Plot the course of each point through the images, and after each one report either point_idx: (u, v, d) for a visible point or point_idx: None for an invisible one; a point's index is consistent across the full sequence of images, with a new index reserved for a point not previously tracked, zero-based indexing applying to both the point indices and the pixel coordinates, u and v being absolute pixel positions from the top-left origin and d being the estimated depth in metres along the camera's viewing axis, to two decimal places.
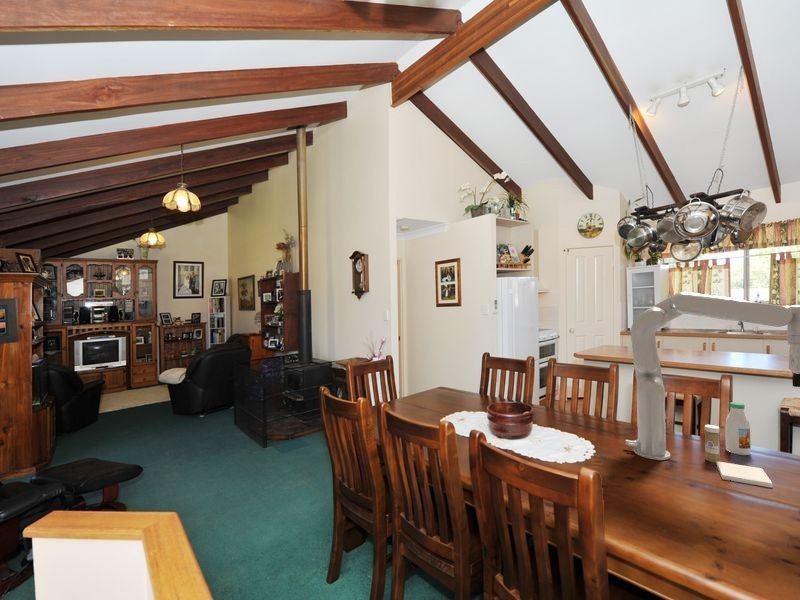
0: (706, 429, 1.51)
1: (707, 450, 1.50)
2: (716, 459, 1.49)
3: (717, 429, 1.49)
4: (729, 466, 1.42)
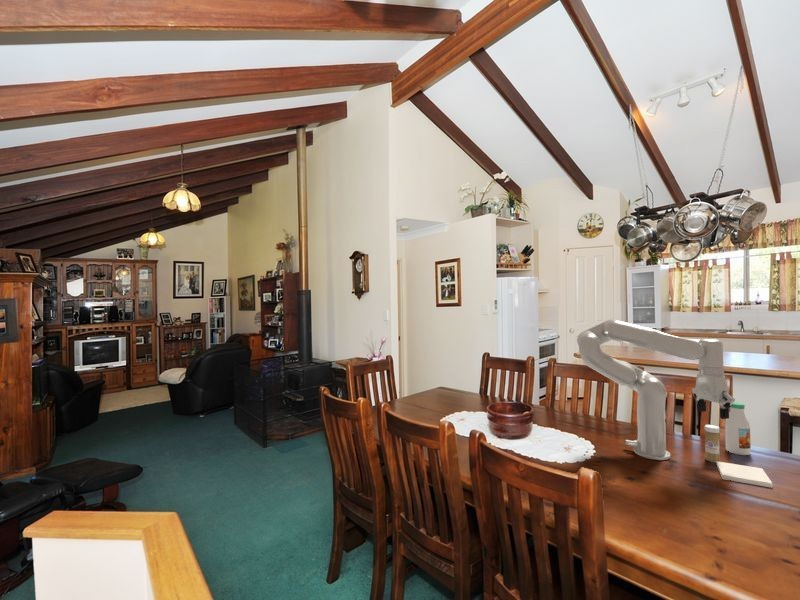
0: (706, 429, 1.51)
1: (707, 450, 1.50)
2: (716, 459, 1.49)
3: (717, 429, 1.49)
4: (729, 466, 1.42)
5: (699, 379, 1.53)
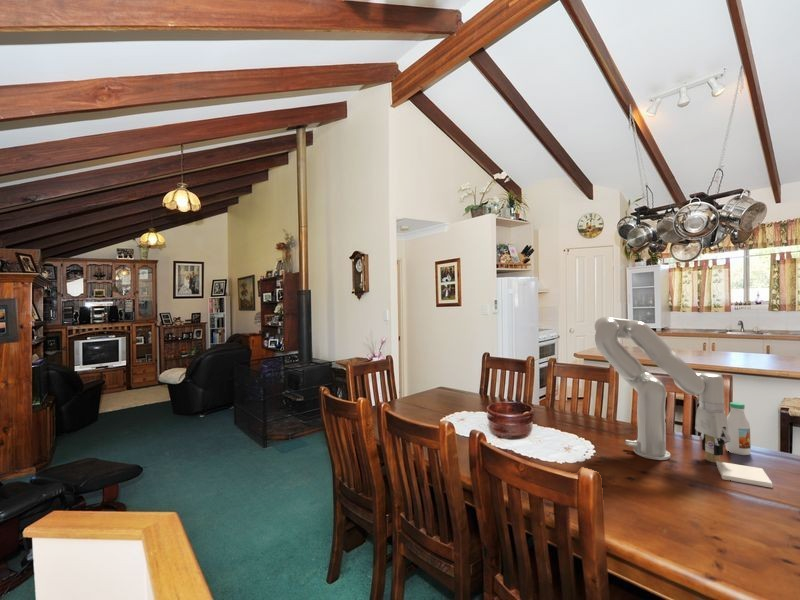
0: None
1: (707, 450, 1.50)
2: (716, 459, 1.49)
3: None
4: (729, 466, 1.42)
5: (699, 413, 1.53)
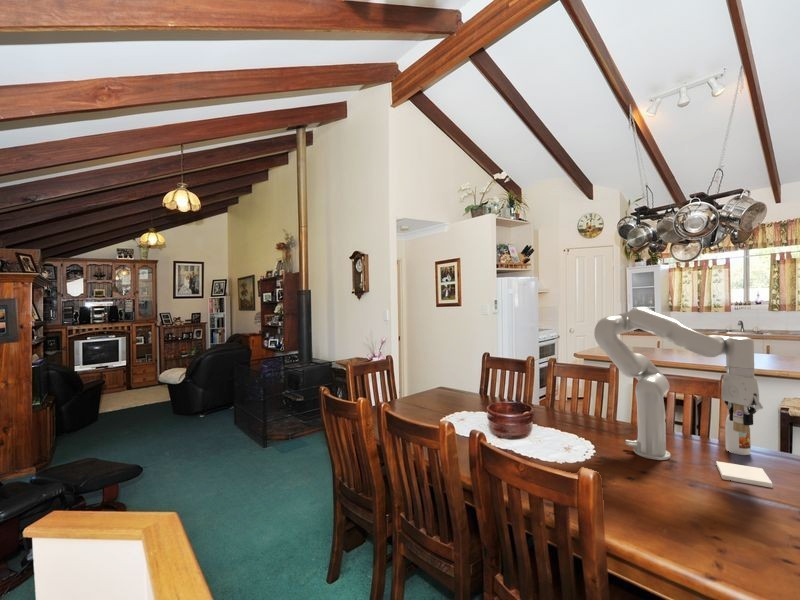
0: None
1: (736, 420, 1.37)
2: (746, 429, 1.36)
3: None
4: (729, 466, 1.42)
5: (726, 380, 1.40)
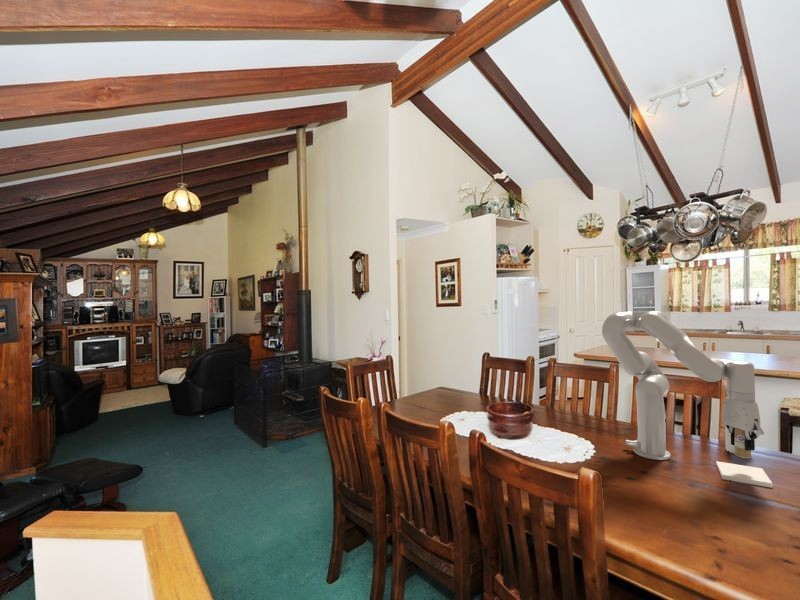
0: None
1: (737, 445, 1.37)
2: (747, 454, 1.35)
3: None
4: (729, 466, 1.42)
5: (727, 404, 1.40)
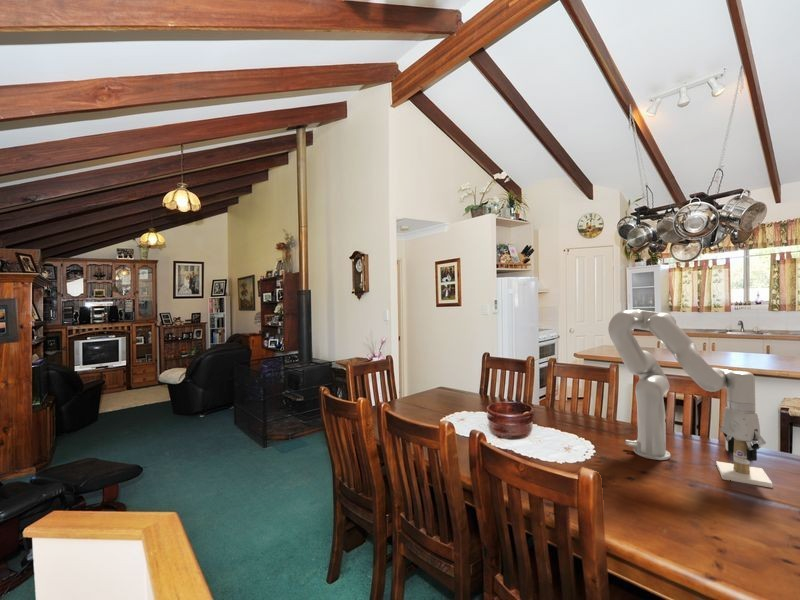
0: None
1: (736, 460, 1.38)
2: (746, 470, 1.36)
3: None
4: (729, 466, 1.42)
5: (727, 414, 1.40)
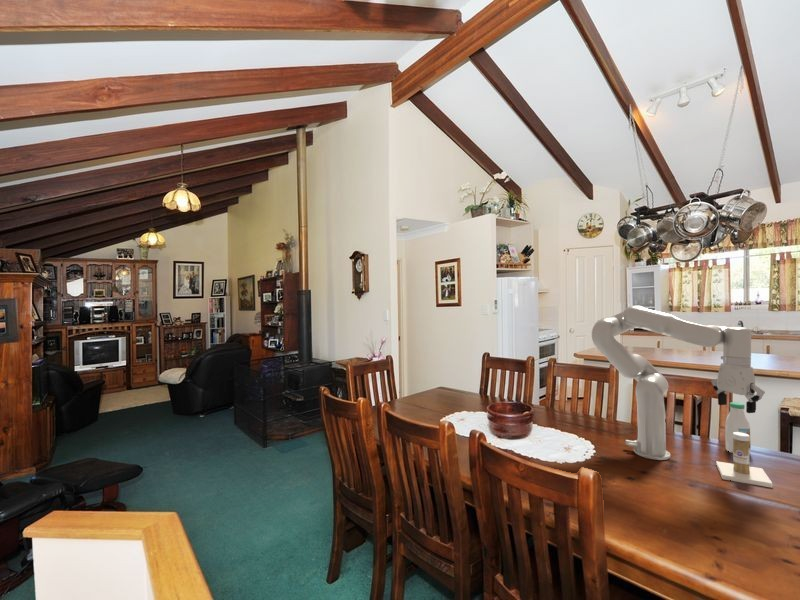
0: (735, 437, 1.38)
1: (736, 460, 1.38)
2: (746, 470, 1.36)
3: (747, 437, 1.36)
4: (729, 466, 1.42)
5: (723, 370, 1.41)
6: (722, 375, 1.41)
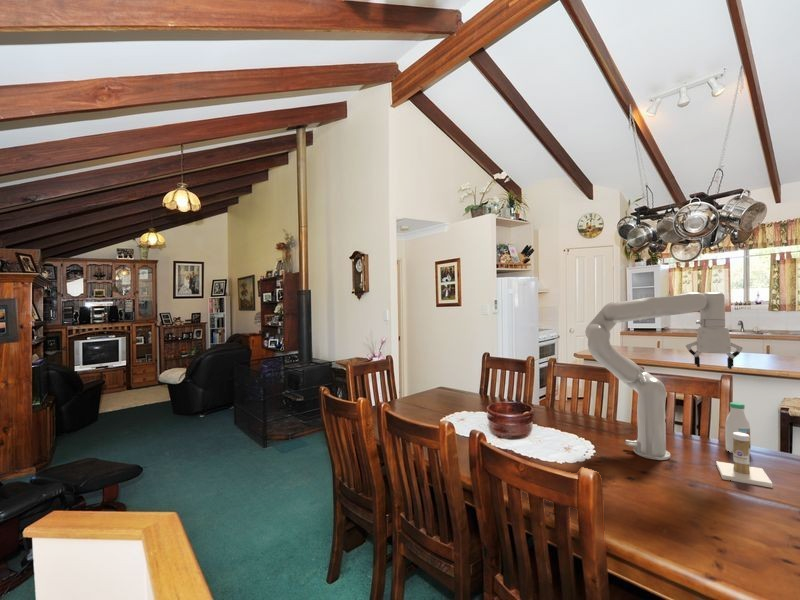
0: (735, 437, 1.38)
1: (736, 460, 1.38)
2: (746, 470, 1.36)
3: (747, 437, 1.36)
4: (729, 466, 1.42)
5: (705, 333, 1.50)
6: (704, 338, 1.50)
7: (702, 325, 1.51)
